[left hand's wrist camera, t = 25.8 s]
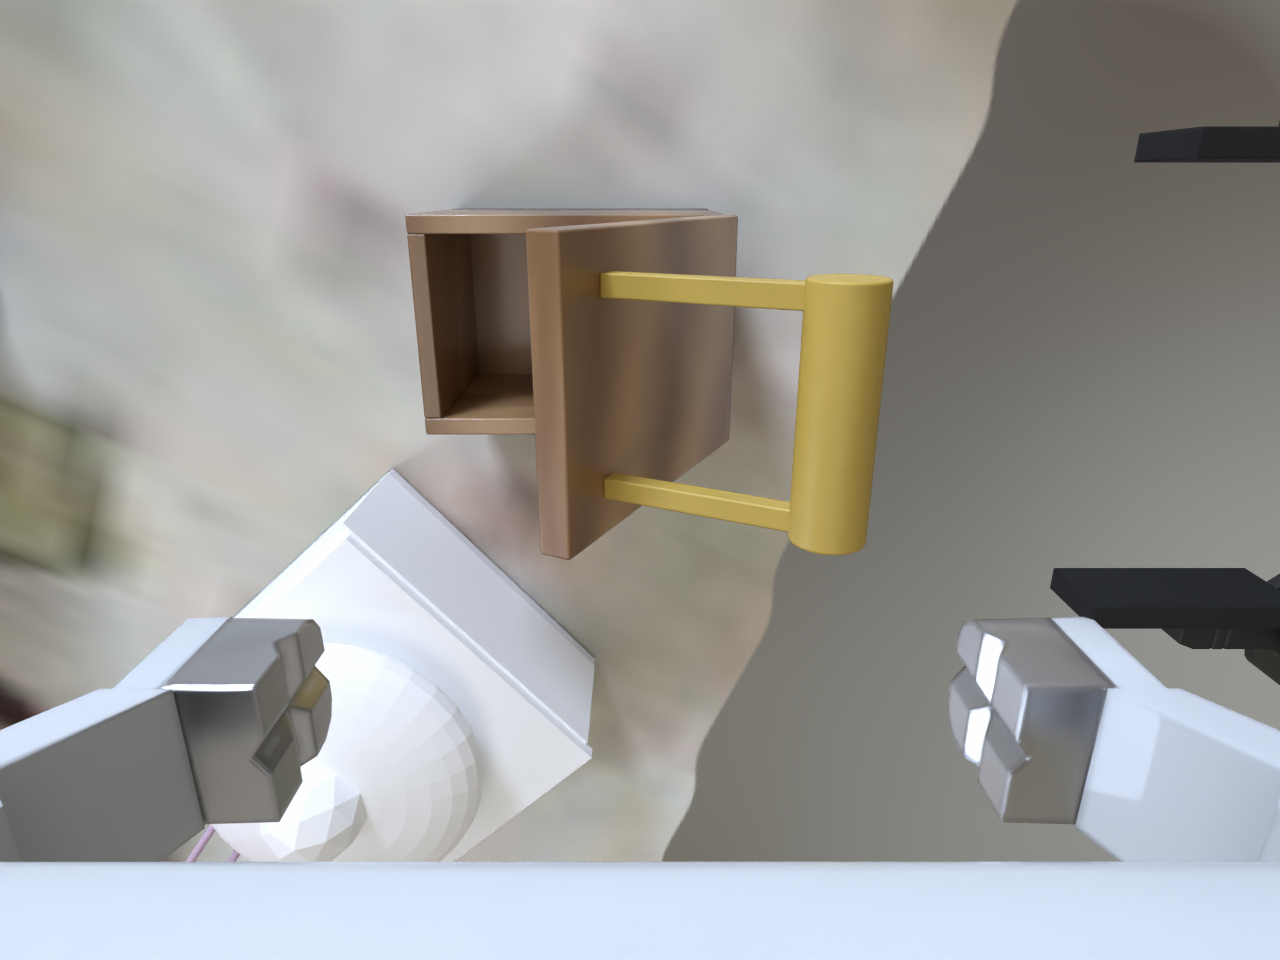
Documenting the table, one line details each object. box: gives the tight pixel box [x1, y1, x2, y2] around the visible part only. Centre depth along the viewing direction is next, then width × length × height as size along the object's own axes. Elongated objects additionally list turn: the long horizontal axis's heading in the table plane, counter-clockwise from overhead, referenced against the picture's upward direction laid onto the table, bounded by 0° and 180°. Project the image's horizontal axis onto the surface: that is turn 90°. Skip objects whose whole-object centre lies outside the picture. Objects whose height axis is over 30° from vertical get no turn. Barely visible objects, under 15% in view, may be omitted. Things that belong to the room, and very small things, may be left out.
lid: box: [526, 215, 893, 560], centre depth 26 cm, size 14×9×9 cm
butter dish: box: [211, 469, 595, 862], centre depth 44 cm, size 18×18×16 cm
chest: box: [405, 209, 723, 434], centre depth 39 cm, size 13×9×10 cm
